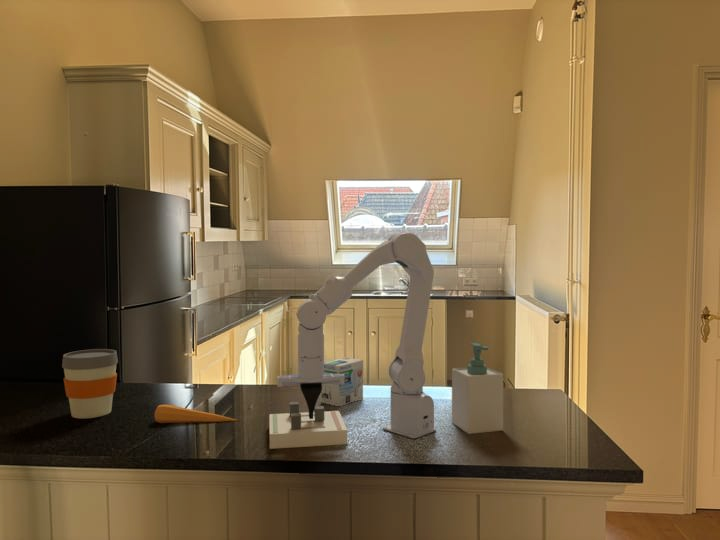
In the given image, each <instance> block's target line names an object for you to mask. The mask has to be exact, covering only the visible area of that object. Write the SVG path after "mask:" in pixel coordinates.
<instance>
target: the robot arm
mask: <svg viewBox="0 0 720 540" xmlns="http://www.w3.org/2000/svg"><path fill="white" fill-rule="evenodd" d="M394 263H397V264H398V265H400V266H401V267H402V269H403V270H404V272H406V274H407V275H408V276H409V282H408V283H409V284H408V291H407V296H406V301H405V309H404V314H403V315H404V316H403V321H402V327H401V334H400V338H399V346H398V347H397V349H396V350H395V355H394V359H393V360H392V362H390V365H389V367H388V374H389V378H390V379H391V380H392V381H393V382H392V385H391V386H390V424H387V425H383V426H382V427H381V429H382V430H385V431H387V432H391V433H395V434H397V435H400V436H404V437H407V438H410V439H417V438H420V437H423V436H426V435H428V434H431V433H434V432H436V431H437V428H436V427H435V404H434V399H433V398H432V397H431V396H430V395H428V394H426V393H425V392H424V389H423V388H424V385H425V383H426V373H425V370H424V362H425V361H424V360H425V359H424V356H423V355H424V354H423V344H424V338H425V332H426V325H427V319H428V312H429V306H430V302H431V301H430V300H431V295H432V289H433V288H432V287H433V281H434V274H435V273H434V272H435V271H434V270H435V269H434V268H433V267H434V266H433V265H432V262H431V259H430V257H429V255H428V252H427V246H426V244H425V243H424V242H423V241H422V239H420V238H419V237H418V236H417V235H416V234H414V233H411V232H404V233H396V234H392V235H391V236H390V237H389V238H388V239H387V240H384V241H382V242H381V243H380V244H378V245H377V246H375V247H374V248H373V249H371V250H370V251H369V252H368V253H367V255H365V256H364V257H363V258H362V259H361V260H360V261H359V262H358V263H357V264H356V265H354V267H352V268H351V269H350V270H349V271H348V272H347V273H345V275H343V276H337V275H336V276H334V277H333V278H330V277H328V278H327V279H325V281H324V282H325V284H324V285H323V286H322V287H320V289H318V290H317V291H316V292H315V293H314V294H313V293H310V294H309V296H308V297H309V299H308V300H305V301H303V302H301V304H300V305H298V309H297V312H296V318H297V320H298V322H299V323H298V327H297V329H298V335H297V373H296V374H294V373H293V374H286V375H277V377H276V379H277V383H276V384H277V388H281V387H285V386H288V387H289V386H290V387H291V386H299V387H300V390H301V393H302V395H303V397H304V399H305V402H306V406H307V409H308V412H309V419H313V412H314V408H315V406H316V404H317V402H318V399H319V397H320V396H321V391H322V384H345V376H344V374H328V373H324V362H325V334H324V324H325V323H326V320H327V316H331V315H332V314H333V313H334V312H335V311H337V310H338V309H339V308H340V307H341V306H342V305H343V304H345V303H346V302H347V301H348V300H349V299H351V298H352V296H353V289H354V288H355V286H356V285H358V284H359V283H360V282H361V281H363V280H364V279H365V278H367V277H368V276H369V275H371V274H372V273H373V272H374V271H375V270H377V269H378V268H380V267H381V266H382V265H383V266H384V265H389V264H394Z"/></svg>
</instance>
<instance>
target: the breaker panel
mask: <svg viewBox="0 0 720 540" xmlns="http://www.w3.org/2000/svg"><path fill="white" fill-rule="evenodd" d="M288 407H289V410H288V411H289V413H288V412H287V413H286V412H285V413H270V414H269V416H268V417H269V424H268V425H269V450H271V449H273V450H274V449H289V448H305V447H323V446H324V447H325V446H336V445H337V446H339V445H341V446H342V445H348V428H347V427H346V424H345V422H344V419H343V416H342V415H341V412H340V410H330V411H327V410H324V420H323V421H315V418H314V412H313V419H309V411H307V412H300V403H299V401H289V406H288Z"/></svg>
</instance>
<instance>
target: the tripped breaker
mask: <svg viewBox="0 0 720 540" xmlns="http://www.w3.org/2000/svg"><path fill="white" fill-rule="evenodd" d="M324 412H325V407H324V405H320V406H319V405H317V406H316V405H315V408H314V418H315V421H323V420H324Z"/></svg>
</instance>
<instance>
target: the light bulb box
mask: <svg viewBox="0 0 720 540" xmlns="http://www.w3.org/2000/svg"><path fill="white" fill-rule="evenodd" d="M324 373H328V374H344V376H345V384H322V391H321V393H320V403H321V402H322V404H325V403H326V404H325V405H329V404H330V406H334V405H335V407H338V406H340V407H342V406H345V405H349V404H351V402H352V403H354V401H355V402H358V401H360V399H361V400H363V399H364V360H363V359H357V358H351V357H347V356H346V357H344V356H343V357H341V358H337V359H333V360H328V361H324ZM357 400H358V401H357ZM348 403H349V404H348Z"/></svg>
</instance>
